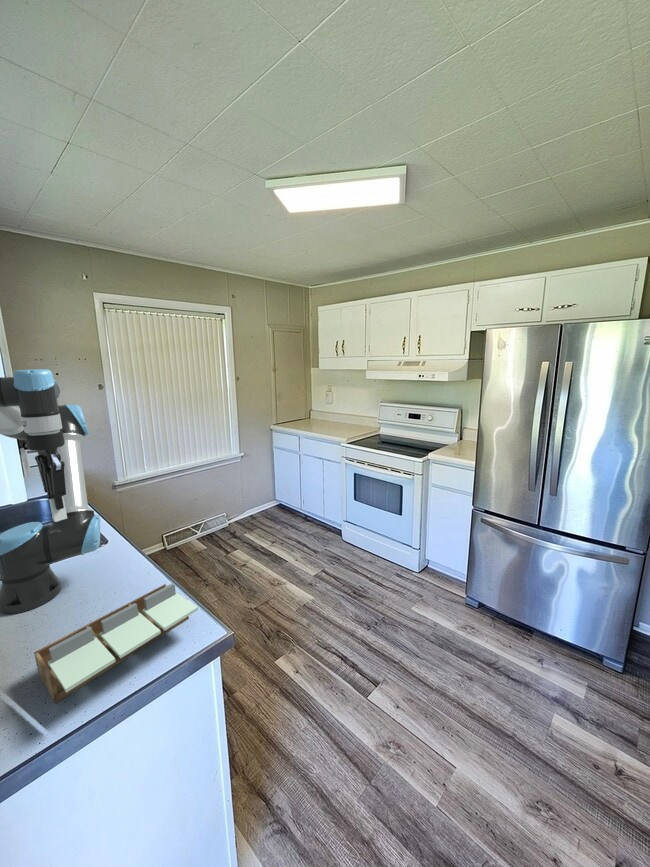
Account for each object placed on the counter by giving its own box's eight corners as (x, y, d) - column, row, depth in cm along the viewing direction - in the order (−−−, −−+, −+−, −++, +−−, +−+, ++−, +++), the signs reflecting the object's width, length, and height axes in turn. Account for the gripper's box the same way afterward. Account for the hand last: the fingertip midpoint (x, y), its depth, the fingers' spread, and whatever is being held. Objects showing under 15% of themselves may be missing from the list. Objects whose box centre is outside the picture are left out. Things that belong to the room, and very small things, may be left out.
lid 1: (48, 664, 77) (45, 649, 76) (95, 638, 84) (92, 624, 83) (66, 692, 70) (63, 676, 69) (115, 661, 77) (113, 646, 77)
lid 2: (99, 636, 85) (97, 622, 84) (138, 614, 92) (136, 601, 91) (120, 658, 78) (118, 643, 77) (160, 633, 85) (158, 619, 84)
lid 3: (142, 612, 93) (140, 599, 92) (175, 593, 100) (174, 581, 99) (164, 630, 86) (162, 617, 85) (198, 609, 93) (196, 596, 92)
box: (39, 678, 82) (34, 652, 81) (167, 604, 106) (164, 584, 105) (56, 706, 75) (50, 678, 74) (189, 621, 99) (186, 599, 98)
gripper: (16, 431, 89) (34, 518, 94) (34, 438, 81) (52, 531, 86) (52, 426, 95) (67, 508, 100) (71, 432, 87) (86, 520, 92)
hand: (60, 519), depth 93 cm, fingers closed
